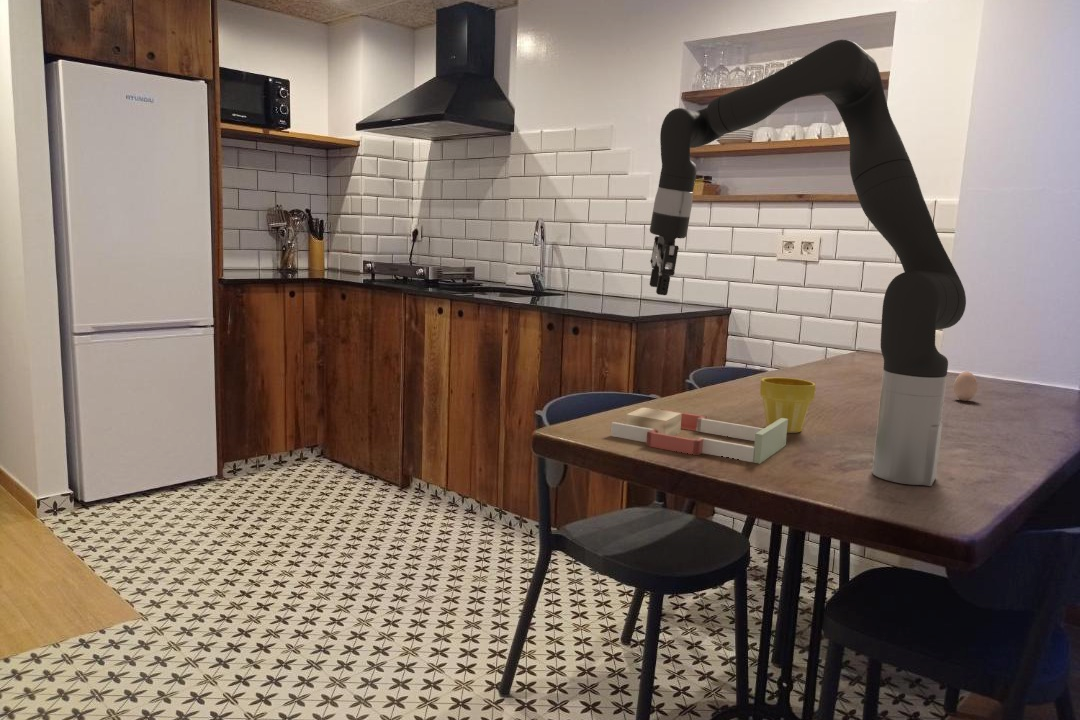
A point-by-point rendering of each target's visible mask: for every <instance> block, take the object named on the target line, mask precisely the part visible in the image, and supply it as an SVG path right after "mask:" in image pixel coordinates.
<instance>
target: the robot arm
mask: <svg viewBox="0 0 1080 720" xmlns="http://www.w3.org/2000/svg"><path fill="white" fill-rule="evenodd" d="M883 85H884V84H883V82H882V76H881V72H880V69H879V66H878V64H877V62H876V60H875V58H874V57H873V56H872V55H871V54H870V53H869V52H867V50H865V49H864V48H862V46H860V45H859V44H858V43H856V42H854V41H853V40H849V39H844V38H843V39H838V40H837V39H836V40H833V41H831V42H828V43H826V44H823V45H822V46H820V47H819V48H817V49H815V50H813V51H811V52H810V53H808V54H807V55H805V56H803V57H802V58H799V59H798V60H796V61H794V62H793V63H790V64H789V65H787V66H785V67H783V68H782V69H780V70H778V71H776V72H774V73H773V74H771V75H769V76H766V77H765V78H763V79H760V80H758V81H756V82H754V83H751V84H749V85H746V86H743V87H741V88H739V89H736V90H733V91H731V92H727V93H726V94H723V95H720V96H717V97H715V98H714V99H712V100H711V101H709V103H708V105H707V107H704V108H701V109H699V110H692V109H688V108H682V107H678V108H674V109H672V110H671V111H669V112H668V113H667V114H666V115H665V117H664V119H663V120H662V124H661V126H660V127H661V128H660V134H659V135H660V138H659V139H660V140H659V141H660V144H659V145H660V159H661V160H660V161H661V169H660V176H659V182H658V188H657V190H656V191H657V192H656V194H655V197H654V202H653V209H652V213H651V214H652V216H651V221H650V225H649V233H650V234H652V235H655V236H654V241H653V247H652V253H651V258H650V261H649V262H650V264H651V265H650V267H651V273H650V279H649V286H650V287H653V288H656V290H655V293H656V294H657V295H659V296H660V295H661V296H667V295H668V292H669V286H670V281H671V278H672V277H674V276H675V270H676V266H677V265H676V264H677V258H678V252H679V245H677V244H676V239H685V238H686V237H687V235H688V234H687V233H688V229H689V225H690V219H691V218H690V217H691V212H692V206H693V196H694V188H695V185H696V184H695V183H696V178H697V172H698V167H697V165H696V163H695V162H693V160H691V149H695V148H699V147H700V148H701V147H703V146H705V145H709V144H711V143H712V142H714V141H716V140H717V139H719V138H721V137H723V136H724V135H725V134H726V135H727V134H730V133H733V132H736V131H739V130H743V129H745V128H748V127H751V126H754V125H756V124H758V123H760V122H762V121H764V120H766V119H767V118H769V116H770V115H772V114H773V113H775V112H776V111H777V110H779V108H781V107H783V106H784V105H786V104H788V103H790V102H792V101H794V100H797V99H801V98H804V97H810V96H813V95H814V96H815V95H820V94H821V95H823V96H825V97H826V98H827V99H828V100H830V101H831V102H832V103H833V105H834V106H835V108H836V109H837V111H838V113H839V114H840V117H841V119H842V121H843V125H844V127H845V129H846V131H847V136H848V139H849V140H848V141H849V171H850V177H851V180H852V184H853V187H854V191H855V193H856V195H857V199H858V202H859V205H860V207H861V209H862V211H863V213H864V214H865V216H866V217H867V219H868V220H869V221H870V223H871V224H872V225H873V227H874V228H875V229H876V230H877V231H878V233H879V234H880V235H881V236H882V237H883V238H884V239H885V240H886V242H887V243H888V244H889V246H890V247H892V249H893V250H894V252H895V254H896V255H897V257H898V259H899V261H900V263H901V265H902V266H901V267H902V269H903V272H902V273H900V274H899V273H898V274H897V275H896V276H895V277H894V278H893V279H891V281H890V283H889V284H888V285H887V288H886V289H885V293H884V297H883V302H882V310H881V311H882V312H881V327H880V328H881V329H880V332H881V333H880V350H881V355H882V358H883V370H882V376H881V377H882V378H881V388H880V393H879V394H880V396H879V403H878V413H877V423H876V424H877V425H876V433H875V441H874V450H873V451H874V452H873V458H872V468H871V470H872V471H871V473H872V475H874V476H875V477H877V478H880V479H882V480H885V481H888V482H893V483H898V484H902V485H903V484H904V485H913V486H914V485H915V486H919V485H920V486H927V487H932V486H933V484H934V482H935V481H936V478H937V473H938V472H937V471H938V462H939V454H940V446H941V445H940V444H941V437H942V431H943V420H942V417H943V409H944V408H943V407H944V401H945V394H946V385H947V377H948V376H947V375H948V369H949V360H948V358H947V357H946V356H945V355H943V354H942V353H940V352H939V351H938V349H937V346H936V333H937V332H936V331H937V330H944V329H948V328H951V327H953V326H955V325H956V324H958V323H959V322H960V320H962V318H963V316H964V313H965V311H966V305H967V297H966V291H965V288H964V285H963V283H962V281H961V279H960V277H959V275H958V272H957V270H956V269H955V267H954V265H953V262H952V261H951V259H950V257H949V255H948V253H947V251H946V249H945V247H944V246H943V244H942V241H941V239H940V237H939V235H938V232H937V229H936V227H935V225H934V221H933V219H932V215H931V213H930V210H929V209H928V206H927V203H926V200H925V199H924V195H923V193H922V190H921V189H922V188H921V186H920V183H919V181H918V177H917V174H916V172H915V169H914V166H913V164H912V161H911V158H910V156H909V155H908V154H909V153H908V151H907V149H906V147H905V145H904V143H903V139H902V138H901V136H900V133H899V131H898V129H897V127H896V125H895V123H894V121H893V119H892V116H891V114H890V110H889V107H888V103H887V99H886V94H885V91H884V86H883Z"/></svg>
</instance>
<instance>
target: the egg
mask: <svg viewBox="0 0 1080 720" xmlns="http://www.w3.org/2000/svg"><path fill="white" fill-rule="evenodd" d="M978 386H979V385H978V381H977V378H976V376H975V375H974V374H973V373H972V372H970V371H963V372H961V373H960V374H959V375H957V377H956V379H955V380H954V383H953V387H952V388H953V392H954V395H955V396H956V398H957V399H958V400H960V401H962V402H968V401H970V400H972V399H973V398H974V397H975V396H976V394H977V393H978V388H979V387H978Z"/></svg>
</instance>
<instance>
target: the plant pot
mask: <svg viewBox="0 0 1080 720" xmlns="http://www.w3.org/2000/svg"><path fill="white" fill-rule="evenodd" d="M759 387H760V388H759V395H760V397H762V400H763V402H762V403H763V409H764V415H765V416H764V417H765V423H766V427H767V426H769V425H770V424H772V423H774V422H775V421H777V420H779V419H780V418H785V419H788V425H787V434H794V433H795V434H796V433H800V432H802V430H803V427H804V424H805V420H806V417H807V414H808V411H809V407H810V403H811V402H813V401H814V399H815V394H816V383H814V382H812V381H811V380H805V379H800V378H792V377H782V376H781V377H775V376H774V377H773V376H771V377H763V378H761V379H760V386H759Z"/></svg>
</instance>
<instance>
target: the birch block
mask: <svg viewBox="0 0 1080 720" xmlns="http://www.w3.org/2000/svg"><path fill="white" fill-rule="evenodd" d="M663 410H664V409H663ZM663 410H661V409H657V408H649V407H640V408H637V409H636V410H633V411H631V412H628V413H626V414H625V424H628V425H633V426H639V427H645V428H650V429H656V430H658V433H661V434H667V435H672V436H677V434H680V433H681V431H682V430H681V416H682V413H683V412H682V413H676V412H677V411H675V412H670V411H671V410H669V411H663Z"/></svg>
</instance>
